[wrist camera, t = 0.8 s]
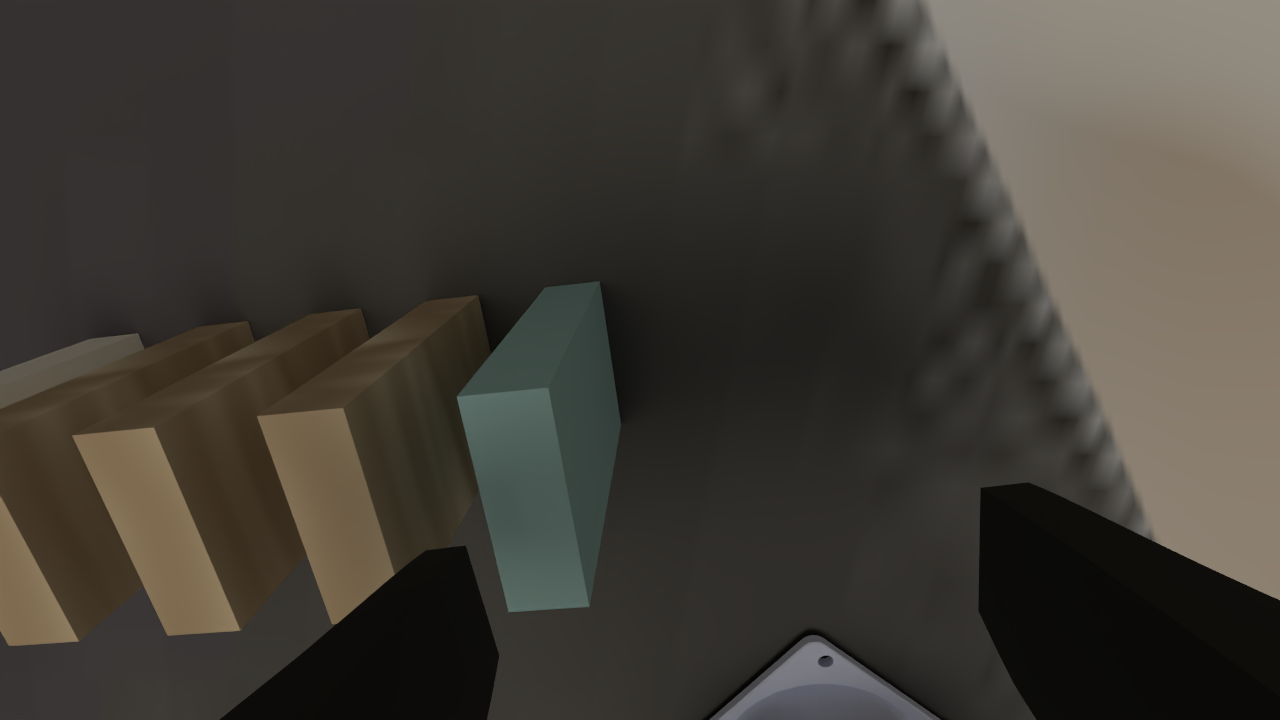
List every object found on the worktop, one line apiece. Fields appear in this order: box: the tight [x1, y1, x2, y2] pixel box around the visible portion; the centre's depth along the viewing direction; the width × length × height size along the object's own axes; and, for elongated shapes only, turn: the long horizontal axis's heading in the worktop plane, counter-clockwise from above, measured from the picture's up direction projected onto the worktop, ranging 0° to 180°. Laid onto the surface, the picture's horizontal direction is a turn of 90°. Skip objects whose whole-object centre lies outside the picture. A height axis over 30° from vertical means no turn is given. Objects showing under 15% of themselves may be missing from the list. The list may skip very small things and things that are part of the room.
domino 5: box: [457, 281, 621, 612], centre depth 15 cm, size 2×5×8 cm, turn 8°
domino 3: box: [72, 308, 370, 635], centre depth 16 cm, size 2×5×8 cm, turn 7°
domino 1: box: [0, 333, 144, 409], centre depth 16 cm, size 2×5×8 cm, turn 7°
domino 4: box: [257, 295, 491, 624], centre depth 16 cm, size 2×5×8 cm, turn 7°
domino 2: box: [0, 321, 255, 646], centre depth 16 cm, size 2×5×8 cm, turn 7°
